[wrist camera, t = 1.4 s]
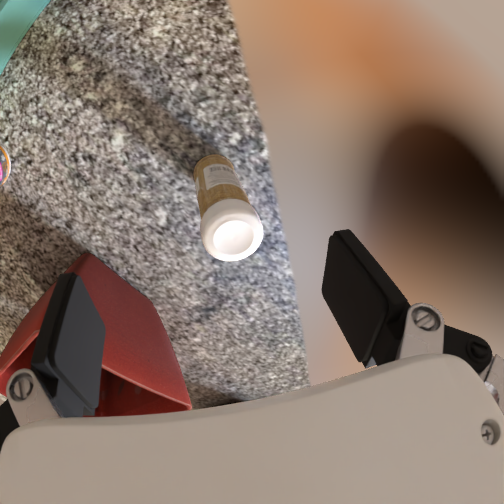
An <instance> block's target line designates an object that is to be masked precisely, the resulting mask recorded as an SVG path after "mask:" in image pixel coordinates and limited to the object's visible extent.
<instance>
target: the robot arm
mask: <svg viewBox="0 0 504 504" xmlns="http://www.w3.org/2000/svg"><path fill="white" fill-rule="evenodd" d="M322 294H323V297H324V299H325V301H326V303H327V305H328V306H329V308H330V310H331V312H332V313H333V316H334V317H335V319H336V321H337V323H338V325H339V327H340V329H341V330H342V332H343V334H344V336H345V338H346V340H347V342H348V344H349V345H350V347H351V349H352V351H353V353H354V355H355V357H356V359H357V360H358V362H362V363H363V365H364V367H365V368H368V367H371V366H374V365H377V367H374V368H371V369H368V370H365V371H361V372H358V373H355V374H352V375H349V376H345V377H342V378H339V379H335V380H332V381H329V382H325V383H322V384H318V385H315V386H311V387H307V388H303V389H299V390H295V391H291V392H287V393H283V394H279V395H274V396H270V397H265V398H260V399H256V400H251V401H245V402H240V403H235V404H229V405H223V406H217V407H210V408H203V409H196V410H188V411H180V412H171V413H161V414H149V415H134V416H112V417H83V415H88V416H95V408H97V407H98V404H99V390H100V378H101V367H102V358H103V350H104V342H105V335H106V328H105V324H104V322H103V320H102V318H101V317H100V315H99V313H98V311H97V309H96V307H95V305H94V303H93V301H92V299H91V297H90V295H89V293H88V291H87V289H86V287H85V285H84V283H83V280H82V278H81V276H80V275H76V273H75V272H70V273H64V274H60V275H59V277H58V280H57V282H56V285H55V288H54V290H53V293H52V296H51V298H50V301H49V304H48V307H47V310H46V312H45V315H44V318H43V322H42V325H41V328H40V331H39V334H38V338H37V341H36V345H35V348H34V352H33V355H32V359H31V368H30V370H29V369H20V370H18V371H16V372H15V373H14V374H13V375H12V376H11V377H10V379H9V380H8V383H7V386H6V395H7V398H8V399H7V400H6V401H5V402H4V403H3V404H2V405H1V406H0V504H504V359H502V358H501V357H500V356H498V355H497V354H496V355H495V356H492V351H491V348H490V346H489V345H488V343H487V342H486V341H485V340H483V339H482V338H480V337H478V336H475V335H472V334H469V333H467V332H464V331H461V330H458V329H455V328H453V327H450V326H447V325H444V318H443V316H442V314H441V313H440V312H439V311H438V309H436V308H435V307H433V306H432V305H429V304H426V303H416V304H414V305H412V306H410V304H409V303H408V302H407V299H406V298H405V297H404V295H403V294H402V293H401V291H400V290H399V289H398V287H397V286H396V285H395V284H394V282H393V281H392V280H391V279H390V277H389V276H388V275H387V273H386V272H385V271H384V270H383V268H382V267H381V266H380V265H379V264H378V262H377V261H376V260H375V259H374V257H373V256H372V255H371V254H370V253H369V251H368V250H367V249H366V248H365V247H364V245H363V244H362V243H361V242H360V241H359V240H358V238H357V237H356V236H355V235H354V234H353V233H352V232H351V230H349V229H347V230H340V231H335V232H334V234H333V235H332V236H330V238H329V244H328V251H327V258H326V265H325V271H324V277H323V284H322Z"/></svg>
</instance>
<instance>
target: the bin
mask: <svg viewBox="0 0 504 504" xmlns="http://www.w3.org/2000/svg"><path fill="white" fill-rule="evenodd" d="M50 1H51V0H0V75H1V73H2V71H3V70H4V68H5V66H6V64H7V63H8V61H9V59H10V58H11V56H12V54H13V53H14V51H15V49H16V48H17V46H18V45H19V43H20V42H21V40H22V38H23V37H24V36H25V34H26V33H27V31H28V30H29V28H30V27H31V25H32V24H33V23H34V21H35V20H36V19H37V17H38V16H39V15H40V13H41V12H42V11H43V9H44V8H45V7H46V6H47V4H48V3H49V2H50Z"/></svg>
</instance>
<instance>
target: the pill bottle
mask: <svg viewBox="0 0 504 504" xmlns="http://www.w3.org/2000/svg"><path fill="white" fill-rule="evenodd" d="M10 170H11V161H10V157H9V154H8V152H7V150H6V149H5V148H4V147H3V146H2V145H1V144H0V187H1V186H2V185H3V184H4V183H5V182H6V180H7V179H8V177H9V174H10Z"/></svg>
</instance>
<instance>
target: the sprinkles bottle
mask: <svg viewBox="0 0 504 504" xmlns="http://www.w3.org/2000/svg"><path fill="white" fill-rule="evenodd" d="M193 177H194V181H195V187H196V194H197V200H198V203H199V208H200V216H201V224H200V231H201V237H202V242H203V245H204V247H205V249H206V250H207V252H208V253H209V254H210V255H212V256H213V257H215V258H217V259H219V260H223V261H237V260H241V259H243V258H245V257H248V256H249V255H251V254H252V253H253V252H254V251H255V250H256V249H257V248H258V246H259V245H260V243H261V241H262V238H263V226H262V223H261V221H260V218H259V216H258V214H257V212H256V210H255V209H254V208H253V207H252V206H251V205H250V203H249V200H248V197H247V195H246V192H245V190H244V188H243V186H242V184H241V182H240V180H239V178H238V176H237V174H236V173H235V171H234V168H233V165H232V163H231V162H230V161H229V160H228V159H227V158H226V157H224V156H221V155H217V154H214V155H208V156H205V157H204V158H202V159H201V160H200V161H198V162H197V164H196V166H195V168H194V174H193Z"/></svg>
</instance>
